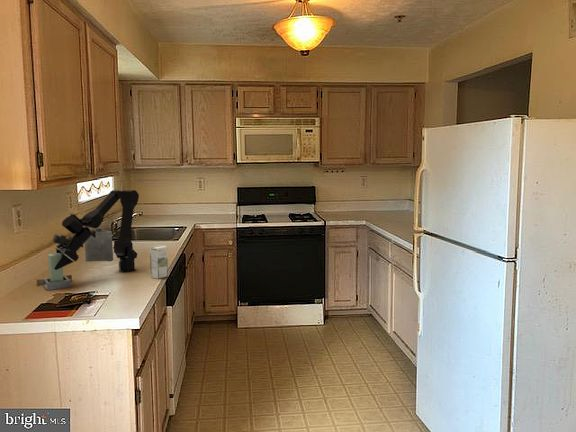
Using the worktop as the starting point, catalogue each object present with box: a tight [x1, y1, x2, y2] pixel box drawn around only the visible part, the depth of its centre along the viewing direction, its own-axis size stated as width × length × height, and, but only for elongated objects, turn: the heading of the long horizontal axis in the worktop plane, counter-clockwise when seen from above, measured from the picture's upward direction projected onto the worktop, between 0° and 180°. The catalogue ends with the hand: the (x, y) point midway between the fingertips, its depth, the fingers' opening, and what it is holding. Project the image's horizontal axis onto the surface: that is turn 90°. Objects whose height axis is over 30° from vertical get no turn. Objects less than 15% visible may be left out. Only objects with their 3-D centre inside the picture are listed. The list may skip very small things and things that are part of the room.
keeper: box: [43, 275, 71, 291], centre depth 207 cm, size 9×9×3 cm
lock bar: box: [47, 252, 64, 282], centre depth 206 cm, size 4×4×14 cm
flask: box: [84, 226, 114, 262], centre depth 257 cm, size 4×14×18 cm, turn 93°
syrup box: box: [149, 244, 169, 280], centre depth 221 cm, size 6×6×14 cm
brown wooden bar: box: [36, 274, 73, 287], centre depth 213 cm, size 14×2×2 cm, turn 125°
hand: (53, 267), depth 205 cm, fingers open, 9 cm apart
